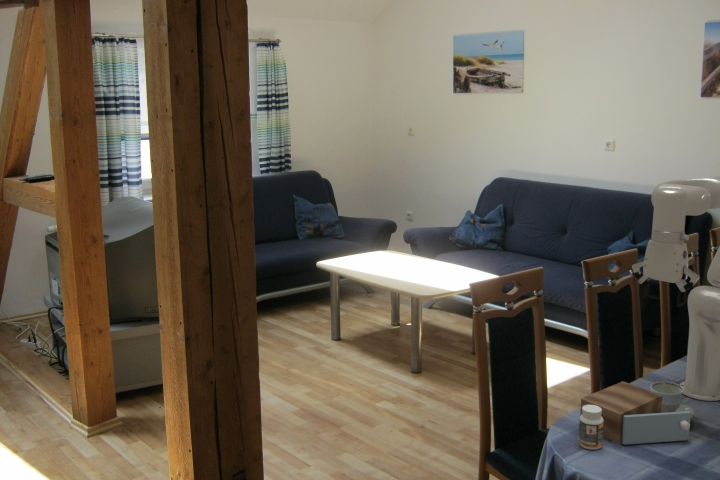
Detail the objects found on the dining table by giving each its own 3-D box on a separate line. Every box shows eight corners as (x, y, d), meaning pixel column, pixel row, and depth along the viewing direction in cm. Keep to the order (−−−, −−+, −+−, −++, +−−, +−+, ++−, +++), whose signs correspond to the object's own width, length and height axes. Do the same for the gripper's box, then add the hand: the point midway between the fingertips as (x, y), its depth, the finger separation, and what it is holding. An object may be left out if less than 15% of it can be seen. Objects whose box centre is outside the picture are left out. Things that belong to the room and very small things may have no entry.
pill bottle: (603, 451, 182) (605, 414, 180) (579, 449, 184) (581, 412, 181) (601, 440, 188) (602, 404, 186) (577, 438, 189) (579, 402, 187)
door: (626, 447, 183) (628, 419, 182) (621, 442, 186) (623, 415, 184) (691, 442, 185) (694, 415, 183) (686, 438, 187) (688, 411, 186)
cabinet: (621, 408, 206) (623, 381, 204) (660, 423, 196) (662, 395, 194) (579, 426, 195) (581, 398, 194) (618, 443, 186) (620, 414, 184)
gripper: (708, 239, 184) (702, 306, 187) (642, 230, 196) (637, 292, 200) (695, 243, 179) (689, 311, 182) (628, 234, 191) (623, 297, 195)
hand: (662, 301), depth 191 cm, fingers open, 9 cm apart
